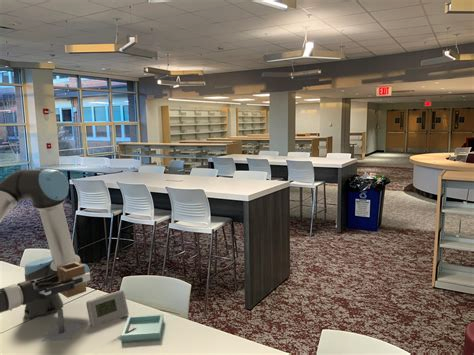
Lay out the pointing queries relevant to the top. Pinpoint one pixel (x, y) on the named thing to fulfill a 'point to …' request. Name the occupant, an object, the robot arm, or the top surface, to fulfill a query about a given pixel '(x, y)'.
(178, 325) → the top surface
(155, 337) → the tray
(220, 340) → the top surface
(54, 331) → the post base
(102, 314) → the digital clock
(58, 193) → the robot arm
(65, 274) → the wooden pen holder
